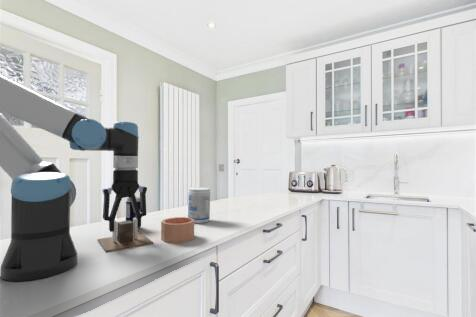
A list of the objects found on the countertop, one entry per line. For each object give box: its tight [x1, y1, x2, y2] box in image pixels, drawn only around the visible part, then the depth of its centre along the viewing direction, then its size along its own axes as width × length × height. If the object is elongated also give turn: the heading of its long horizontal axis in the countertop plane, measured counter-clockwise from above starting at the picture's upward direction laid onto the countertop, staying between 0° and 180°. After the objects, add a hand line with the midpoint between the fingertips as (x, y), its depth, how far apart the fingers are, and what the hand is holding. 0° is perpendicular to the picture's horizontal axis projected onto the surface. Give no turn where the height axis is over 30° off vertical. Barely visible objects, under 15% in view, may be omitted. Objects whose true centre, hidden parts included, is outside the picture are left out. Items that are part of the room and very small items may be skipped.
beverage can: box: [125, 196, 142, 230], centre depth 103 cm, size 6×6×12 cm
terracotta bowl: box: [160, 216, 195, 244], centre depth 91 cm, size 11×11×6 cm
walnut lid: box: [97, 220, 154, 253], centre depth 86 cm, size 14×14×7 cm
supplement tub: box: [187, 186, 211, 224], centre depth 116 cm, size 10×10×15 cm
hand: (125, 239), depth 86 cm, fingers open, 6 cm apart
